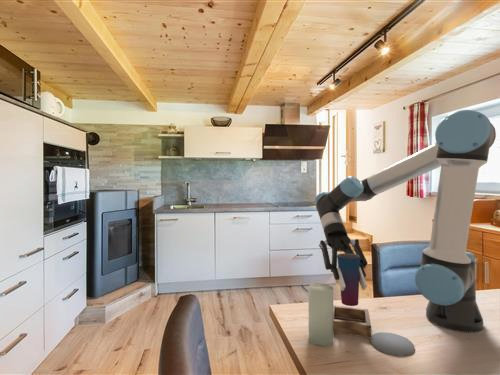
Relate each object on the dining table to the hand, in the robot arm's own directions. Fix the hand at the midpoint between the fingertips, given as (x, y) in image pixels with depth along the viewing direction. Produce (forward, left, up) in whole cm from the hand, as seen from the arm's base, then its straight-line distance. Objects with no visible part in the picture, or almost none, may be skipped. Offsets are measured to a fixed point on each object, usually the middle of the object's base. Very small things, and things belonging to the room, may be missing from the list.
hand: (354, 288), depth 87 cm
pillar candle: (+9, +8, -13) cm, 18 cm away
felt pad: (-10, +5, -13) cm, 17 cm away
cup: (+1, -3, -6) cm, 7 cm away
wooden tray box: (+1, -3, -13) cm, 14 cm away
